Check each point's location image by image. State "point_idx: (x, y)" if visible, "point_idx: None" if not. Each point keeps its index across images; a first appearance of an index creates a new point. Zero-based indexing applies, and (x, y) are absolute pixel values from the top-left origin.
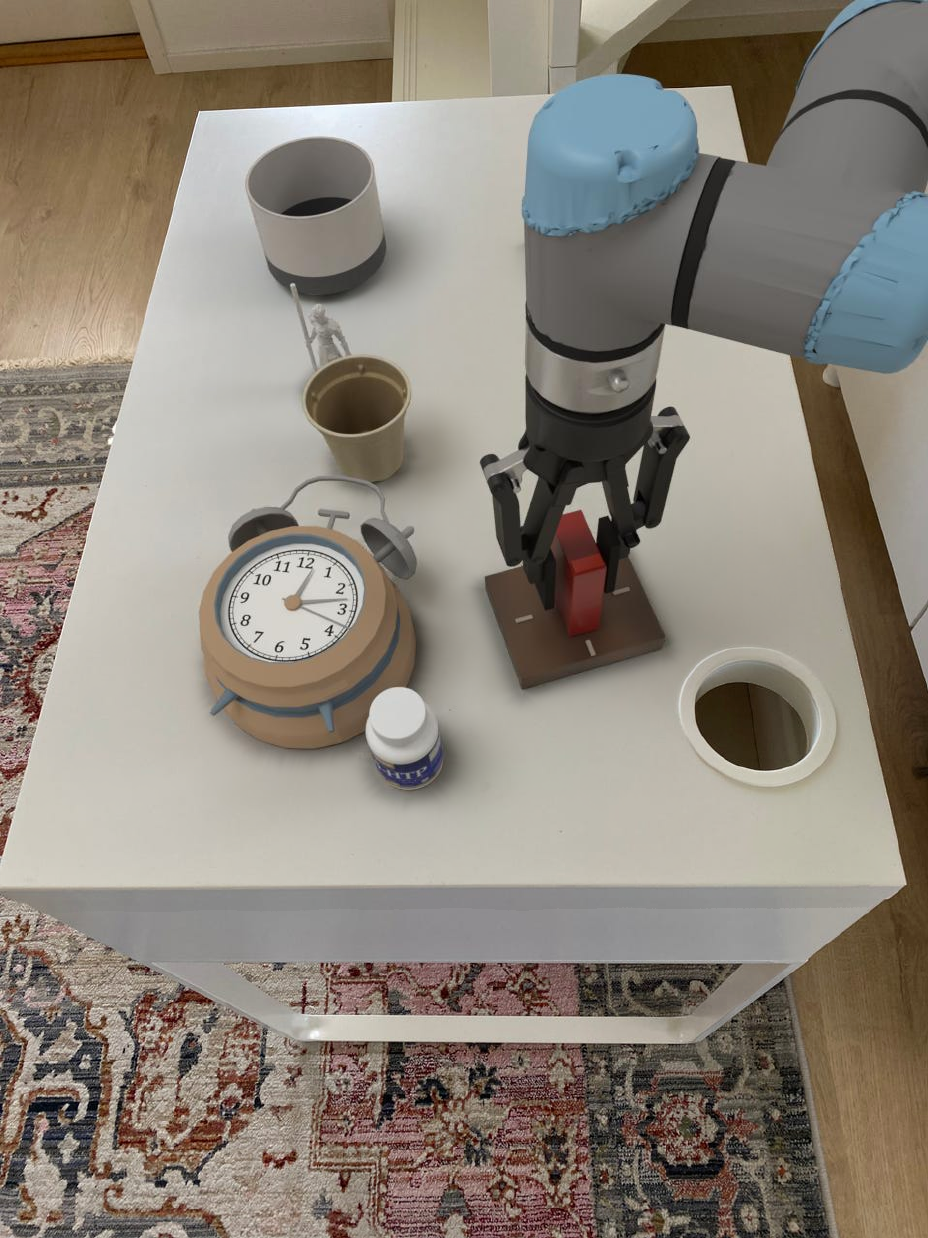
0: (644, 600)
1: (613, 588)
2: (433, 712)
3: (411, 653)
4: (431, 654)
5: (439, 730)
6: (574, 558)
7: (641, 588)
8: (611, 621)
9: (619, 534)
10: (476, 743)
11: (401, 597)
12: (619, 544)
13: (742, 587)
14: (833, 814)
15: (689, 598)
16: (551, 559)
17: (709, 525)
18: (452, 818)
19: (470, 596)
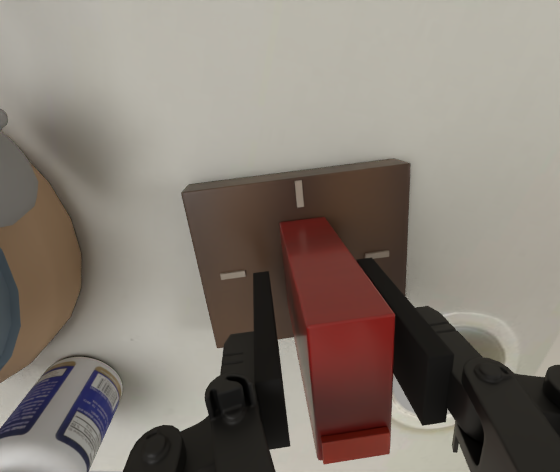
0: (400, 272)
1: None
2: (73, 468)
3: (60, 308)
4: (106, 271)
5: (94, 446)
6: (332, 428)
7: (404, 254)
8: None
9: (459, 437)
10: (161, 375)
11: (26, 227)
12: (441, 421)
13: (515, 243)
14: (458, 448)
15: (449, 247)
16: (280, 440)
17: (533, 139)
18: (133, 433)
19: (164, 192)
